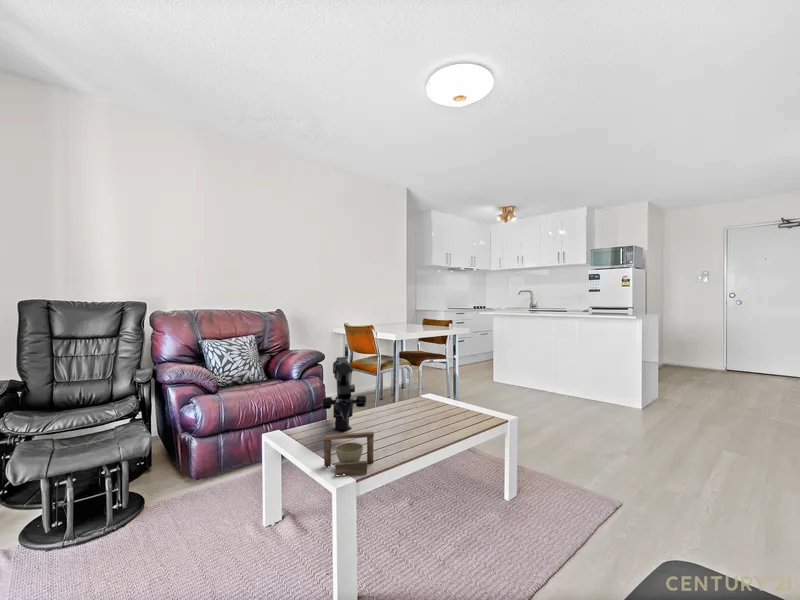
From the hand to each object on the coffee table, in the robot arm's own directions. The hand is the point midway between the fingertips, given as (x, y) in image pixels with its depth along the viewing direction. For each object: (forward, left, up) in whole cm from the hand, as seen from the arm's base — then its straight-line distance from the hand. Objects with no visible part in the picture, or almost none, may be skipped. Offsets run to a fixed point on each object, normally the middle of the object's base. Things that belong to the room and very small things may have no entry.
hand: (345, 420), depth 163 cm
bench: (+15, +15, -11) cm, 24 cm away
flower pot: (+14, +14, -11) cm, 22 cm away
